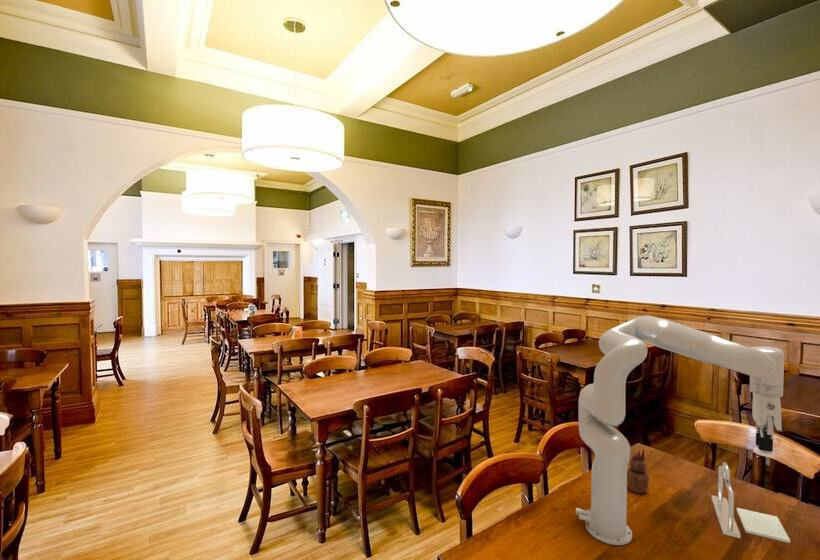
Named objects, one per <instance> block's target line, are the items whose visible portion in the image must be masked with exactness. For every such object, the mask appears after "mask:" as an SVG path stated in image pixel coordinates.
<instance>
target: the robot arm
mask: <svg viewBox="0 0 820 560" xmlns="http://www.w3.org/2000/svg"><path fill="white" fill-rule="evenodd" d="M647 344H649V345H652V346H655V347H657V348H660V349H663V350H667V351H670V352H673V353H676V354H678V355H682V356H684V357H688V358H690V359H694V360H696V361H700V362H702V363H706V364H711V365H715V366H719V367H722V368H726V369H728V370H731V371H735V372H736V373H737V372H738V373H741V374H744V375H745V376H746V375H747V376H749V392H751V393H752V405H751V407H752V408H751V409H752V413H751V414H752V419H753V421H754V422H755V423H756V429H755V430H756V431H755V445H756V447H758V448H759V450H764V451H770V452H772V451H773V452H774V436H775V435H774V428H775V430H776V431H778V432H780V431H782V427H783V426H782V405H781V398H782V397H784V380H785V379H784V378H785V377H784V374H785V373H784V371H785V353H784V350H782V349H780V348H778V347H772V346H763V345H761V346H760V345H758V346H745V345H742V344H739V343H736V342H733V341H730V340H728V339H725V338H722V337H719V336H717V335H715V334H712V333H708V332H705V331H704V330H703V331H702V330H700V329H696V328H693V327H690V326H687V325H684V324H681V323H678V322H675V321H672V320H669V319H665V318H661V317H656V316H652V315H648V314H647V315H641V316H639V317H635V318H632V319H630V320H628V321H626V322H624V323H621V324H619V325H617V326H615V327H612V328H610V329H608V330H606V331H605V332H603V333H602V335H601V336H600V337H599V340H598V347H599V350H600V351H601V353H603V354H604V356H603V357H602V358H601V359H600V361H598V363H597V364H596V366H595V367H594V368H595V369H594V373H593V383H589V384H587V385H586V386H584V387H583V388H582V389H581V391H580V394H579V397H578V431H579V437H580V438H581V440H582V441H583V442H584V443H585V444H586V446H588V447H589V449H590V450H591V451H592V452H593V453H594V460H593V463H592V465H591V481H590V482H591V492H590V493H591V494H590V495H591V497H590V499H591V501H590V504H591V505H590V509H587V510H585V509H583V508H580V507H576V508H575V515H576V516H578V519H579V520H582V521H585V529H586V531H587V532H588V533H589V534H590V536H592V537H593V538H595V539H596V540H598V541H599V542H603V543H604V544H608V545H613V546H623V545H627V544H629V543H630V542H632V539H633V531H632V530H631V527H629V525H628V524H627V512H628V511H627V509H628V508H627V504H628V503H627V501H628V500H627V497H628V494H627V493H628V489H627V488H628V482H627V470H628V469H629V468H628V467H629V464H630V460H631V459H630V458H631V451H632V450H631V445H630V442H629V441H628V439H627V438H626V437H625V436H624V435H623V433H621V432H620V431H619V430H618V429H616V427H617V426H620V425H621V424H622V423H623V422H624V421H625V417H626V383H627V377H628V376H629V374H630V372H632V371H633V370H634V369H635V368H636V367H637V366H639V365H640V364H642V363H643V362H644V361H645V359H646V358H647V355H648V347H647ZM764 426H767V427H764ZM764 430H766V431H764Z"/></svg>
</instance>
